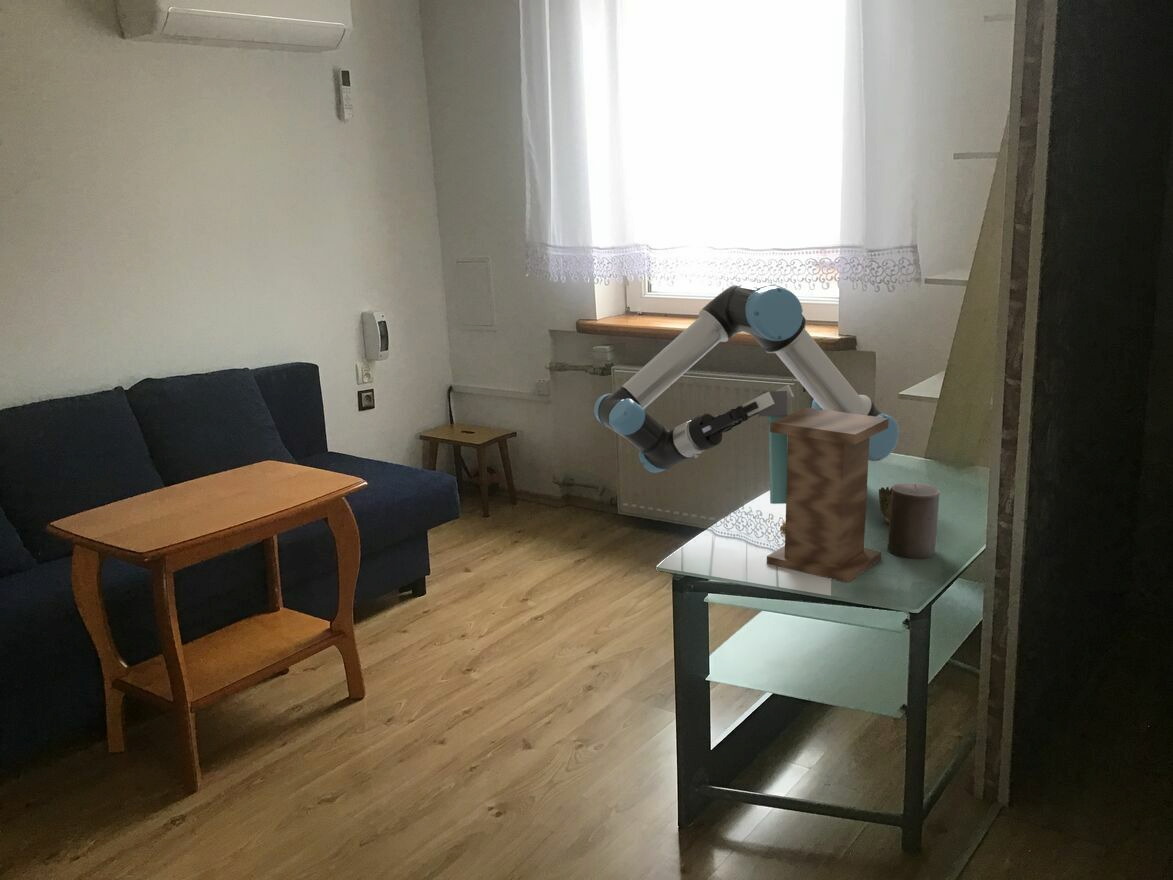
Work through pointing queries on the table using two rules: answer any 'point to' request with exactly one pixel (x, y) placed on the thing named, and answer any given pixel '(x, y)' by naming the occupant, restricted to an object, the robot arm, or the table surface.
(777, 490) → the hammer
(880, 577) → the table surface
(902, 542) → the pillar candle
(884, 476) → the table surface
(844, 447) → the shelf stand
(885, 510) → the cup
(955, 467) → the table surface
